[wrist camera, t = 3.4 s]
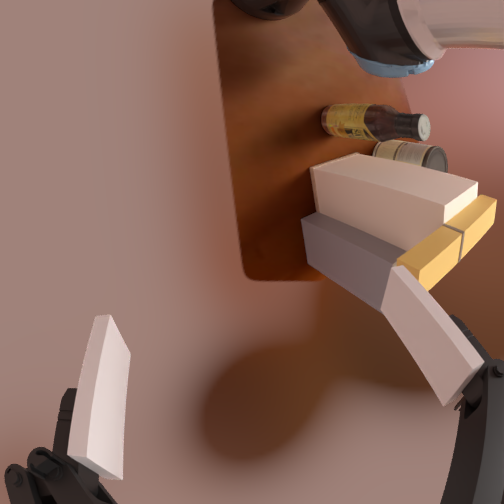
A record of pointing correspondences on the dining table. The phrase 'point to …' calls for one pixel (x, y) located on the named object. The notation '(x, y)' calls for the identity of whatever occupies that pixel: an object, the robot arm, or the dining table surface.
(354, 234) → the grey upright block
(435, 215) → the cream pillar
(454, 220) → the yellow long bar
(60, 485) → the robot arm
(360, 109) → the sauce bottle
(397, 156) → the coffee can
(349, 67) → the dining table surface
